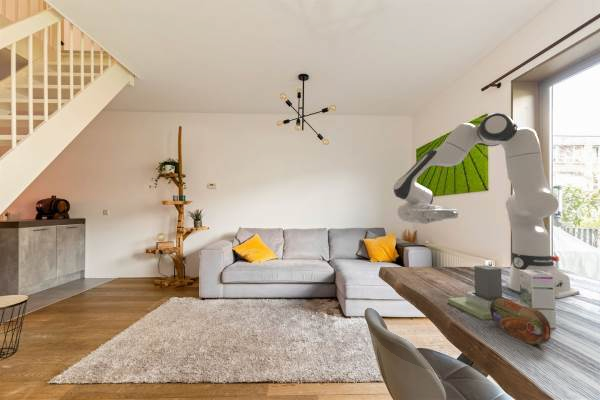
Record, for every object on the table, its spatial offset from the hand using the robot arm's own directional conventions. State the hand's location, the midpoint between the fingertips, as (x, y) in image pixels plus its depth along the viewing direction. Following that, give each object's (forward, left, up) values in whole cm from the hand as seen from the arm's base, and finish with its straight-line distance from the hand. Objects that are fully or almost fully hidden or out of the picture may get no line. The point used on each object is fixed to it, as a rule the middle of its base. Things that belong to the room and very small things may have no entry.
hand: (445, 214), depth 104 cm
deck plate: (0, +17, -30) cm, 35 cm away
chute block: (0, +18, -28) cm, 34 cm away
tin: (+7, +34, -30) cm, 46 cm away
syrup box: (-5, +29, -30) cm, 42 cm away
